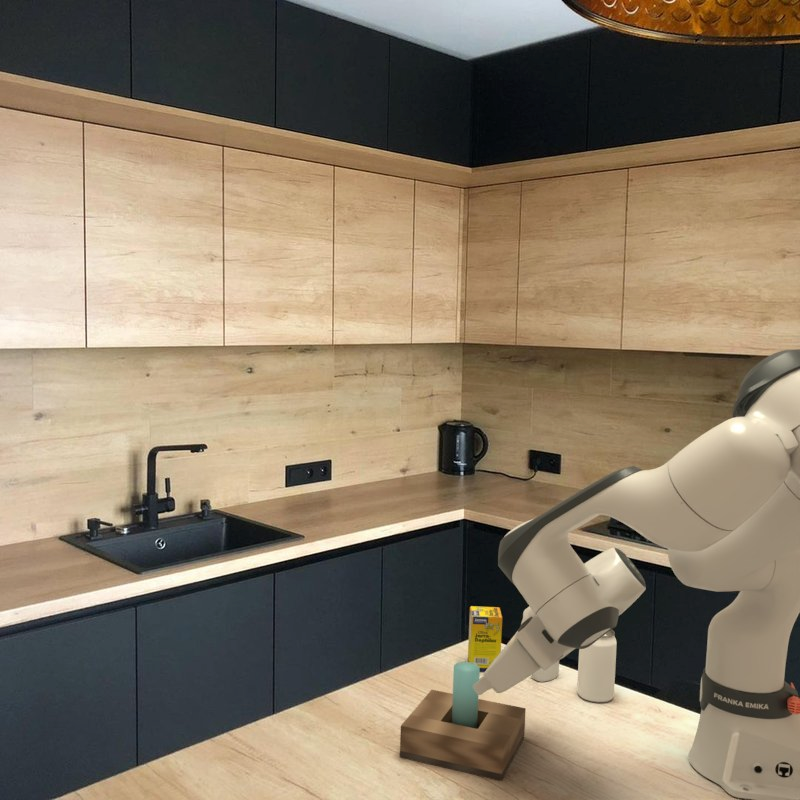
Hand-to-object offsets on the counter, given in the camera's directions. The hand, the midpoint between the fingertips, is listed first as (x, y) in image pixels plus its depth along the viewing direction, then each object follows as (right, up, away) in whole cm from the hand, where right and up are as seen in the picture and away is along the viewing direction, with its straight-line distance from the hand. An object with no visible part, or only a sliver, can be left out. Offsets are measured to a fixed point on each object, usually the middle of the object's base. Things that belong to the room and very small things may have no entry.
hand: (486, 677), depth 133 cm
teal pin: (-3, -10, +1) cm, 11 cm away
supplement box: (+3, -9, +33) cm, 34 cm away
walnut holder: (-3, -11, +1) cm, 12 cm away
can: (+22, -10, +21) cm, 32 cm away
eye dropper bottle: (+14, -9, +29) cm, 33 cm away
